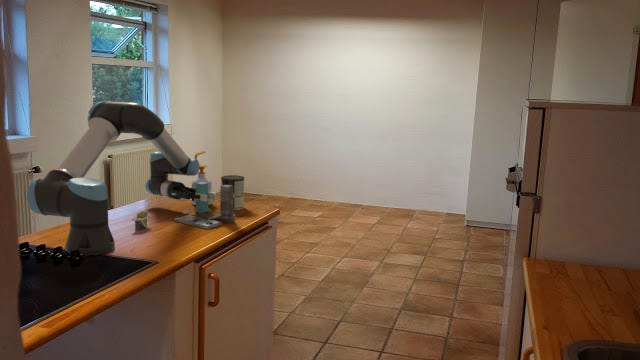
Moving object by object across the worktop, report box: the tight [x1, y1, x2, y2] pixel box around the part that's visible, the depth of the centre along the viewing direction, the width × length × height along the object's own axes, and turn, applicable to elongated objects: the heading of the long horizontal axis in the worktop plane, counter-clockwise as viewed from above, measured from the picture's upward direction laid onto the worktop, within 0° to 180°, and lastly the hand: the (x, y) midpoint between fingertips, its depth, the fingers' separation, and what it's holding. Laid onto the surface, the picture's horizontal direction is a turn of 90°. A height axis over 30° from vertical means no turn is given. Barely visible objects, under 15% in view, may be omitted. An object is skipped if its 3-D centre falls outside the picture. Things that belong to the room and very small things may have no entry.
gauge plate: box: [174, 214, 223, 230], centre depth 226 cm, size 8×19×1 cm, turn 54°
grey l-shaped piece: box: [194, 185, 237, 225], centre depth 229 cm, size 12×19×15 cm, turn 54°
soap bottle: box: [191, 150, 213, 206], centre depth 260 cm, size 9×9×25 cm
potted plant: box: [131, 210, 151, 231], centre depth 216 cm, size 12×18×7 cm, turn 173°
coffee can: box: [220, 174, 245, 211], centre depth 255 cm, size 10×10×14 cm
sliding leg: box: [182, 182, 212, 214], centre depth 234 cm, size 12×5×12 cm, turn 144°
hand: (211, 197), depth 233 cm, fingers open, 4 cm apart
